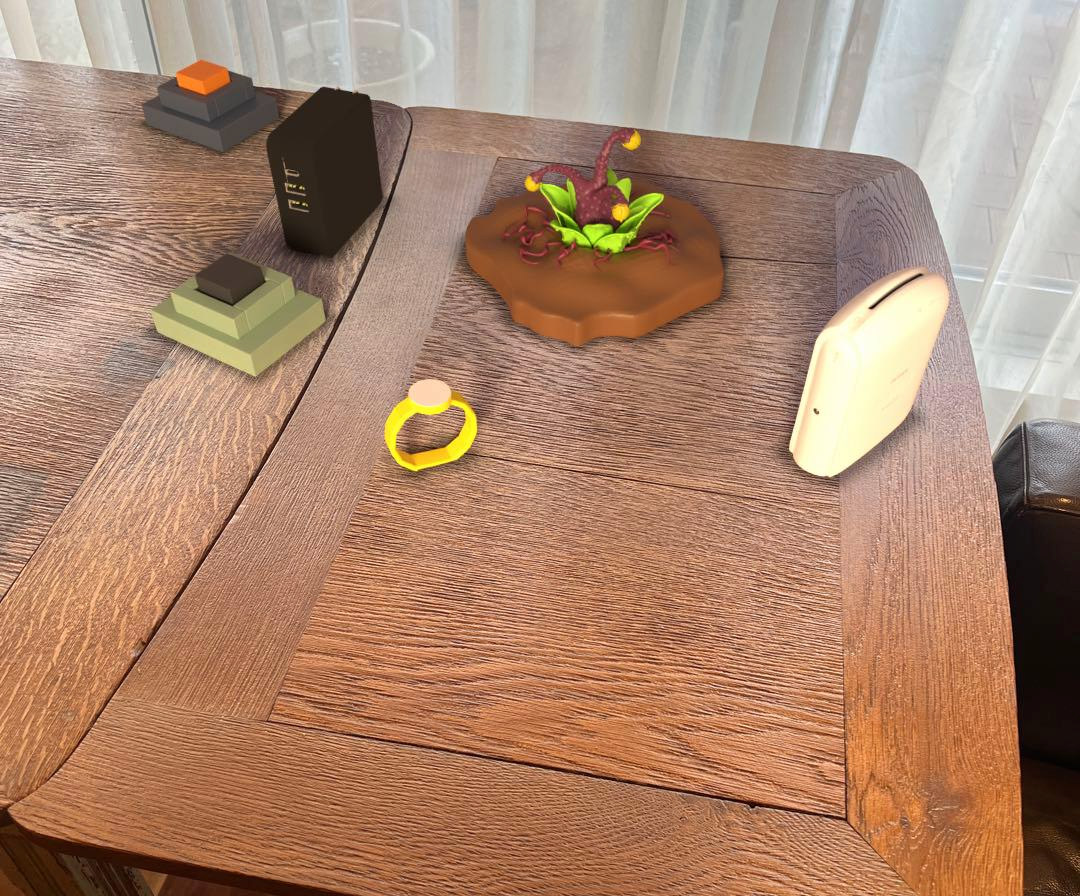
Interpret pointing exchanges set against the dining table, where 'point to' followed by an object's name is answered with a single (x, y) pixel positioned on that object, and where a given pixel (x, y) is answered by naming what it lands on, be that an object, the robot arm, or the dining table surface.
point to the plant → (596, 253)
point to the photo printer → (867, 369)
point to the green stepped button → (241, 321)
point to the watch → (430, 401)
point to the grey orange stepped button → (212, 112)
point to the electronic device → (325, 170)
